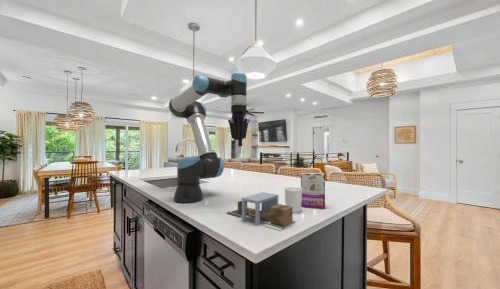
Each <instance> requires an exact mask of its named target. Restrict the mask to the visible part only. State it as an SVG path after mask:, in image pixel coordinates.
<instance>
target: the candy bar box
mask: <svg viewBox="0 0 500 289" xmlns="http://www.w3.org/2000/svg"><path fill="white" fill-rule="evenodd" d="M325 175H326V174H325V173H324V172H301V174H300V188H301V189H302V203H301V208H309V209H310V208H311V209H321V210H322V209H323V210H325V209H326V185H325V184H326V177H325Z"/></svg>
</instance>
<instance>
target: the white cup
mask: <svg viewBox="0 0 500 289" xmlns="http://www.w3.org/2000/svg"><path fill="white" fill-rule="evenodd" d="M301 203H302V189H301V187H296V186H295V187H294V186H293V187H292V186H290V187H285V188H284V205H286V206H291V207H293V213H295V214H298V213H300V212H302V207H301Z"/></svg>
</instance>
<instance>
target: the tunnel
mask: <svg viewBox="0 0 500 289" xmlns="http://www.w3.org/2000/svg"><path fill="white" fill-rule="evenodd" d="M241 201H242V215H239V214H236V213H232V211H227V212H226V213H230V214H233V215H236V216H240V218H241V221H242V222H247V220H249V221H252V222H254V223H255V225H256V226H257V227H258V226H259V225H261V224H262V225H264V224H267V225H271V226H274V227H278V228H281V229H282V230H281V231H283V230H284V229H283V227H280V226H277V225H274V224H270V223H268V221H267V222H266V221H263V220H261V217H260V211H264V212H268V213H270V207H272V206H275V205H278V204H279V194H276V193H270V192H264V191H263V192H258V193H254V194H251V195H248V196H247V195H246V196H244V197H241ZM246 201H247V203H252V204H255V206H254V207H255V208H254V209H255V215H254V216H255V217H254V218H253V217H249V216H247V215H246ZM260 207H261V208H260ZM236 216H235V217H236ZM294 221H295V220H294ZM294 221H292V222H293V224H295V223H294Z"/></svg>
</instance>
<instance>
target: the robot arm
mask: <svg viewBox="0 0 500 289" xmlns="http://www.w3.org/2000/svg"><path fill="white" fill-rule="evenodd" d="M247 84H248V82H247V75H246V74H245V73H243V72H238V71H237V72H232V74H231V77H230V79H229V80H226V81H225V80H221V79H218V78H214V77H213V78H212V77H208V76H206V75H199V74H197V75H195V76H194V77H193V79H192V84H191V85H190V86H189V87H188V88H187V89H185V90H184V91H183V92H182V93H181V94H179V95H176V96H174V97H172V98H171V99H170V100H169V102H168V110H169V111H170V113H171V114H172V115H173V116H175V117H177V118H182V119H186V122H187V124H189V125H190V128H191V131H192V135H193V138H194V141H195V145H196V148H197V152H198V155H192V156H191V155H190V156H185V157H182V158H179V159H178V160H177V165H176V168H177V169H176V170H177V172H176V173H177V174H176V175H177V177H176V178H177V181H176V182H177V183H176V184H177V186H176V189H175V193H174V195H173V201H174V203H179V204H191V203H192V204H193V203H198V202H201V201H203V197H204V194H203V192H202V188H201V186H200V180H204V179H205V180H206V179H211V178H212V179H214V178H218V177H220V176H221V175H222V174H223V172H224V168H225V163H224V160H223V158H222V157H220V156H219V157H218V154H217V153H216V152H215V151H214V150H213V146H212V144H211V141H210V137H209V134H208V131H207V127H206V123H205V120H206V117H207V108H206V105H205V104H204V103H203V102H201V101H198V100H199V99H201V98H203V97H204V96H206V95H207V94H210V95H215V96H216V95H217V96H218V97H219V98H223V99H224V98H228V97H230V98H231V99H230V100H231V101H230V104H231V105H230V113H231V117H230V119H228V121H227V123H228V124H229V129H230V130H229V131H230V135H231V136H230V137H231V139H233V140H234V147H235V148H234V150H235V154H242V147H243V140H244V139H246V137H247V132H248V127H249V123H250V119H251V118H248V117H247V115H246V113H247V92H248V91H247V86H248V85H247Z"/></svg>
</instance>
